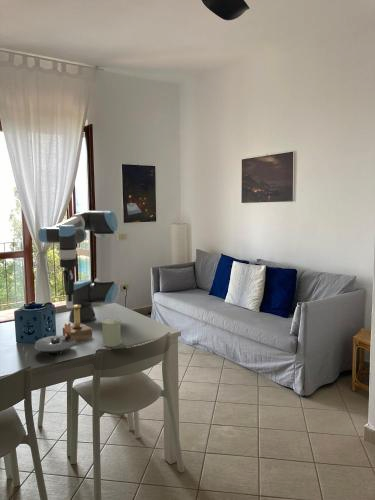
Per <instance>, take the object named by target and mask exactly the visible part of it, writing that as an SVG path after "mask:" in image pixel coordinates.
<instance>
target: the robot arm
mask: <svg viewBox="0 0 375 500" xmlns="http://www.w3.org/2000/svg"><path fill="white" fill-rule="evenodd" d="M118 225H119V224H118V218H117V215H116V213H115V212H114V211H113V210H89V209H88V210H84V211H81V212H78V213H75V214H73V215H71V216H70V218H69V219H65V220H64V221H61V222H60V223H57V224H55V225H52V226H50V227H47V226H46V227H40V228H39V230H38V233H37V234H38V235H37V236H38V240H39V242H41V243H44V244H45V243H46V244H59V247H58V248H59V249H58V250H59V252H58V254H59V258H60V259H59V267H60V268H62V269H63V268H64V269H63V271H62V274H63V285H64V292H65V306H66V309H71V310H70V313H69V316H68V319H69V320H68V321H70V323H74V308H73V305H76V304H80V305H81V308H80V324H83V323H88V322H93V321H94V320H95V319H96V313H95V309H94V308H93V307H94V306H93V303H94V304H113V303H114V302H115V300H116V299H117V297H118V290H119V289H118V288H119V287H118V284H117V283H115V279H114V278H113V277H112V275H113V274H112V237H113V236H114V235H115V232H117V230H118ZM86 231H93V235H94V236H95V237H96V239H95V241H96V249H95V250H96V278H95V279H94V280H93V281H92V279H84V280H76V281H75V277H76V276H75V271H74V270H73V268H75V267H77V265H78V264H77V261H78V260H77V254H78V250H77V244H81V243H83V242H84V241H85V240H86V239H87V236H88V235H87V234H88V233H87V232H86Z"/></svg>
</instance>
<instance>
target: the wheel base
mask: <svg viewBox="0 0 375 500" xmlns="http://www.w3.org/2000/svg"><path fill="white" fill-rule="evenodd" d="M60 352H61V353H62V352H63V351H57V352H48V353H49V354H50V353H51V354H50V355H57V353H59V354H61V353H60Z"/></svg>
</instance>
